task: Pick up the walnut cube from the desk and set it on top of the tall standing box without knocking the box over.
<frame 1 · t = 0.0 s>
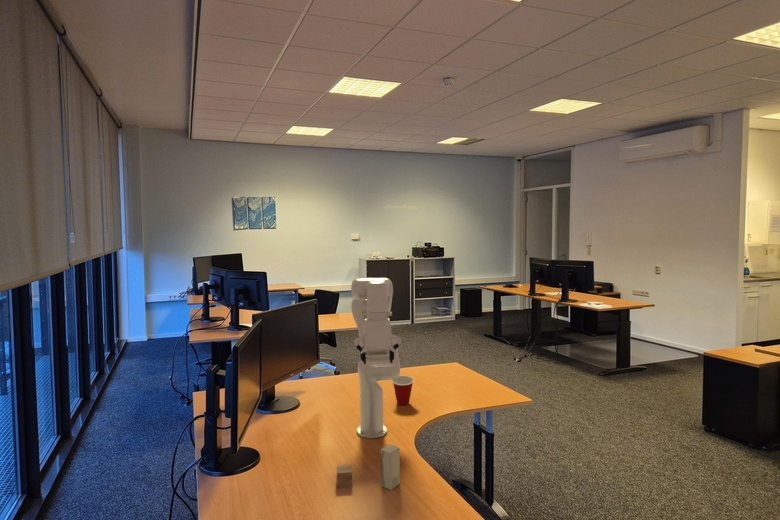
hand: (377, 362, 171), 37 cm above the table, tool pointing down, fingers open, 9 cm apart
plastic cup: (402, 403, 228), on the table
box: (390, 486, 157), on the table
walnut cube: (344, 482, 159), on the table
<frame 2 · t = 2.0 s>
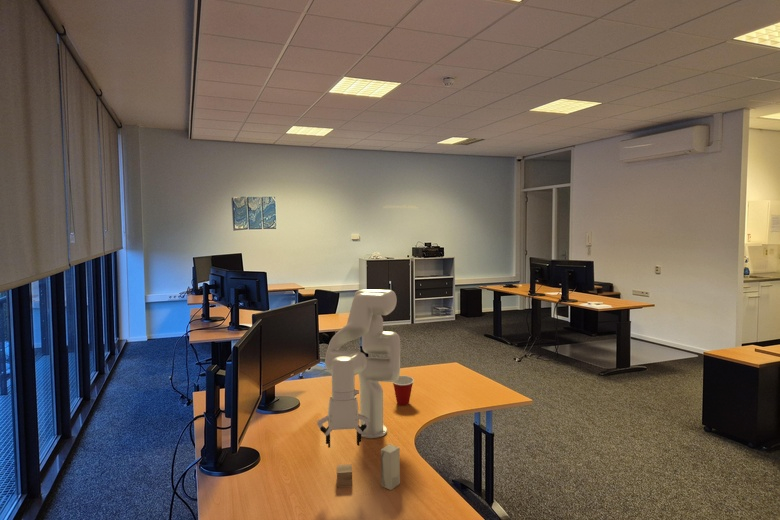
hand: (343, 444, 157), 13 cm above the table, tool pointing down, fingers open, 9 cm apart
nothing on the table moved.
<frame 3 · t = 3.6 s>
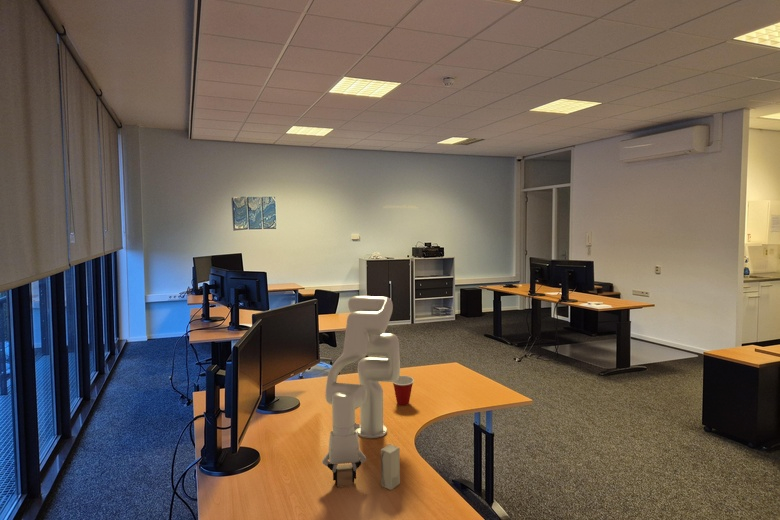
hand: (344, 480, 159), 1 cm above the table, tool pointing down, fingers closed on walnut cube, 5 cm apart
walnut cube: (344, 482, 159), on the table, touching gripper
everything else where it was.
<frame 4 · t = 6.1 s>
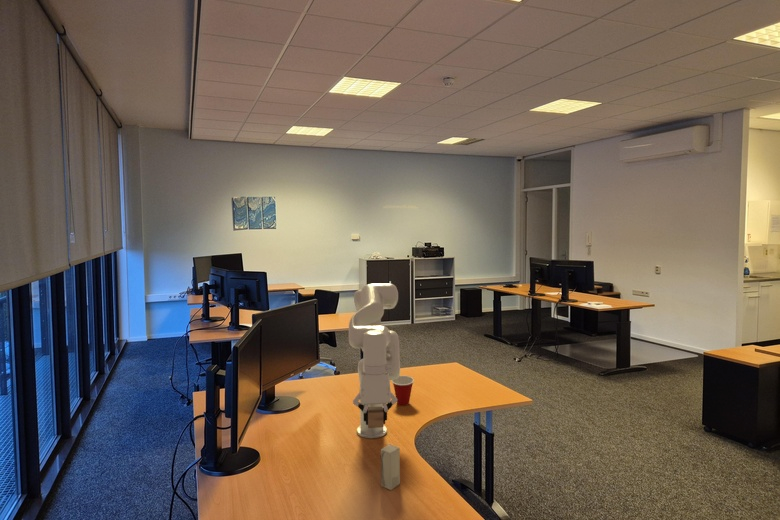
hand: (375, 422, 156), 21 cm above the table, tool pointing down, fingers closed on walnut cube, 4 cm apart
walnut cube: (375, 424, 156), point 21 cm above the table, touching gripper
everything else where it was.
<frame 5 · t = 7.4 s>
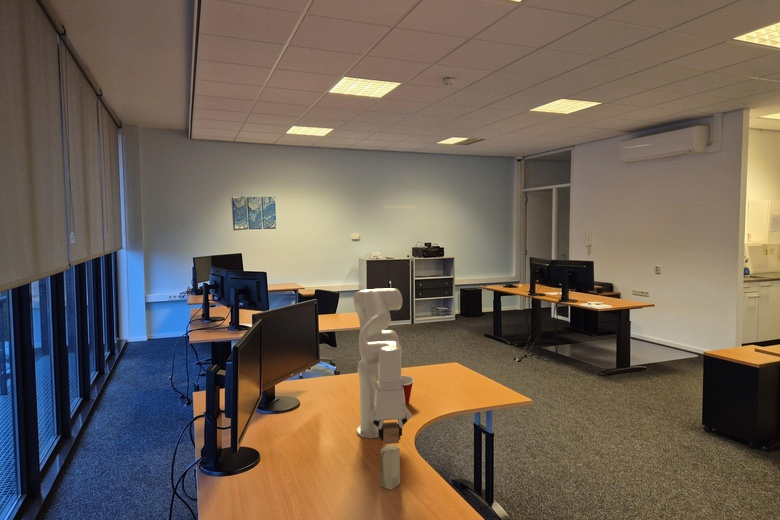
hand: (390, 438, 156), 16 cm above the table, tool pointing down, fingers closed on walnut cube, 4 cm apart
walnut cube: (390, 440, 156), point 16 cm above the table, touching gripper
everything else where it was.
when the fingers open (14 cm above the table, at t = 8.5 s): walnut cube stays where it is, resting on box.
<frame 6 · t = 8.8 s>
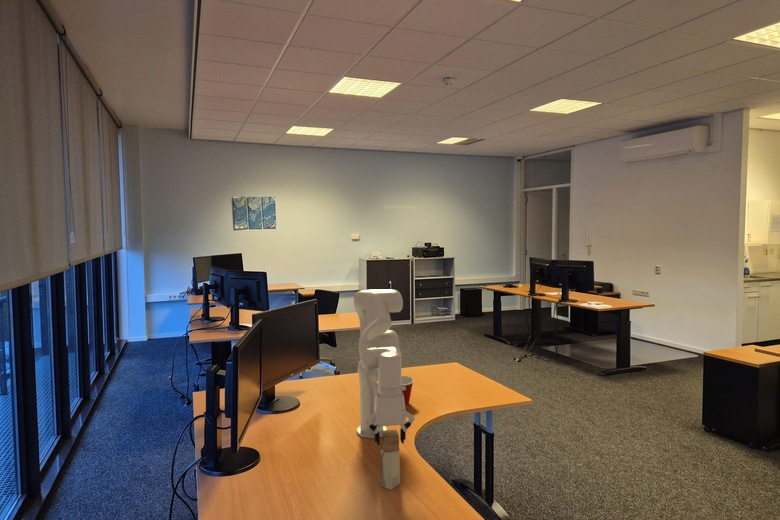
hand: (390, 442, 156), 15 cm above the table, tool pointing down, fingers open, 7 cm apart
box: (390, 486, 157), on the table, touching walnut cube
walnut cube: (390, 448, 156), point 13 cm above the table, touching box
everything else where it was.
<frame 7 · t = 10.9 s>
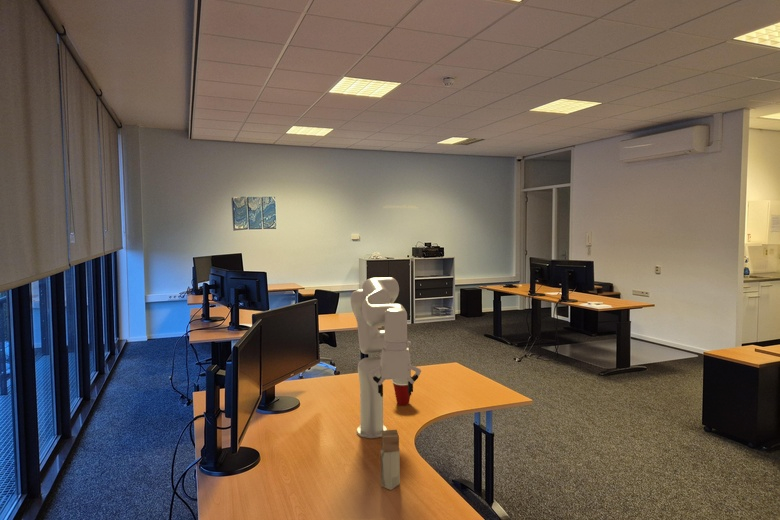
hand: (395, 394, 160), 29 cm above the table, tool pointing down, fingers open, 9 cm apart
nothing on the table moved.
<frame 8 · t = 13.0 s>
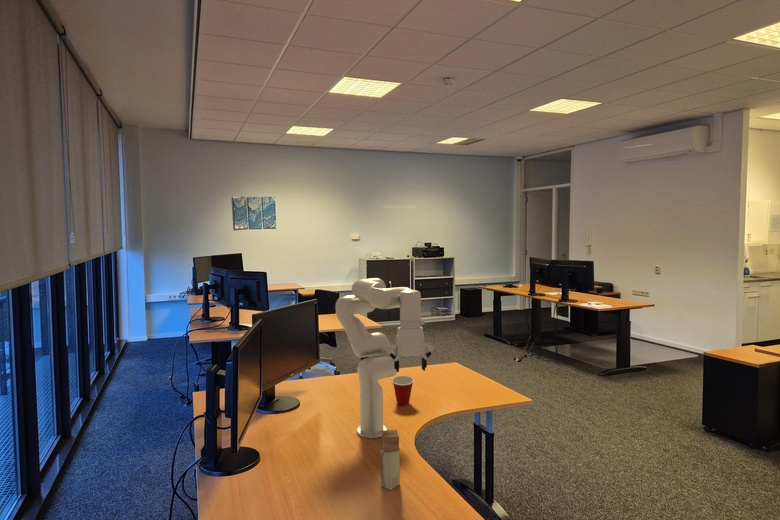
hand: (410, 370, 173), 33 cm above the table, tool pointing down, fingers open, 9 cm apart
nothing on the table moved.
at the end: walnut cube 0.0 cm off-centre on the box, point 13.1 cm above the box's base; box tilted 0°; the gripper is holding nothing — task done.
